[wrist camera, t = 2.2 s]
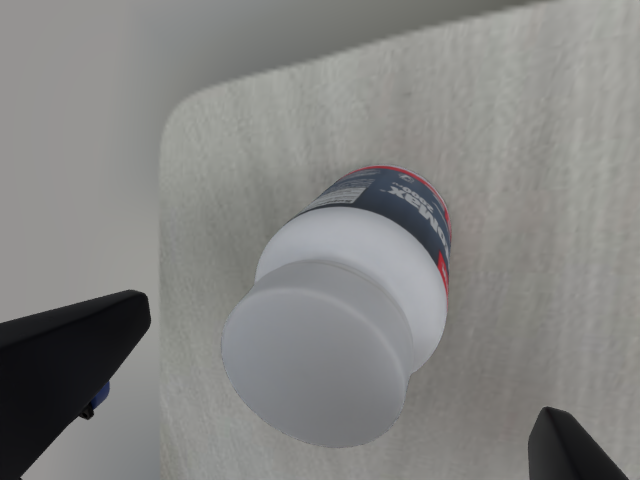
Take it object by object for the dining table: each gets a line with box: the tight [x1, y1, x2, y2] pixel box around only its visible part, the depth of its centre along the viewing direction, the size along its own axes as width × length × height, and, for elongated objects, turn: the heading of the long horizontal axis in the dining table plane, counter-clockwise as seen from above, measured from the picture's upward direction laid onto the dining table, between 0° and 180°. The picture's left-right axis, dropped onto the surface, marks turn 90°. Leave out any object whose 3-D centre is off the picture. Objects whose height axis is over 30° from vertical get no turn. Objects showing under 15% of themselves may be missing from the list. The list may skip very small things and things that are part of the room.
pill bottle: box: [221, 164, 451, 448], centre depth 11 cm, size 5×5×9 cm
